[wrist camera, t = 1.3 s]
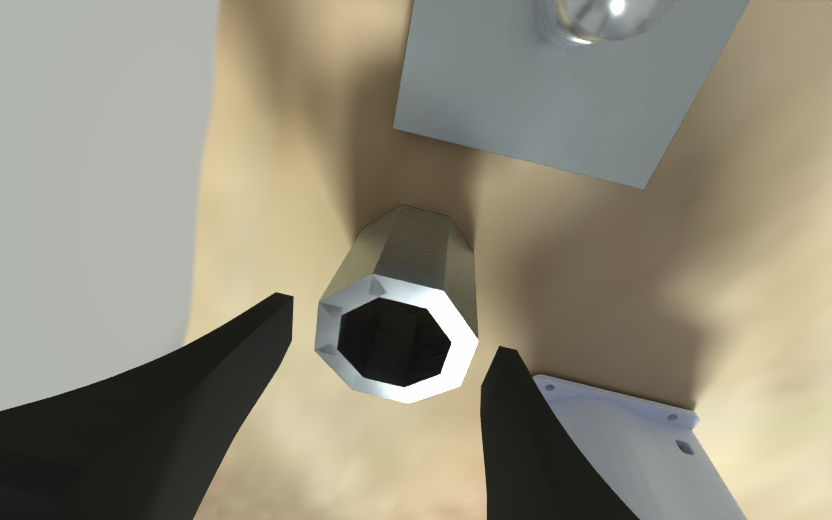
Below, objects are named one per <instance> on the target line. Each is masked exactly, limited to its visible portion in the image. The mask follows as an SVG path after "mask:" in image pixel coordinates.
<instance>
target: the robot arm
mask: <svg viewBox="0 0 832 520" xmlns="http://www.w3.org/2000/svg"><path fill="white" fill-rule="evenodd" d="M293 297H294V296H290V295H285V294H281V293H277V292H276V293H274V294H272V295H271V296H269V297H267V298H266V299H264V300H263V301H261V302H260V303H258V304H256V305H255V306H253V307H252V308H250V309H248V310H247V311H245V312H244V313H242V314H241V315H239V316H237V317H236V318H234V319H232V320H231V321H229V322H227V323H226V324H224V325H222V326H221V327H219V328H217V329H215V330H214V331H212V332H210V333H208V334H206V335H204V336H203V337H201V338H199V339H197V340H195V341H193V342H191V343H190V344H188V345H186V346H184V347H182V348H180V349H178V350H175V351H173V352H171V353H169V354H167V355H165V356H163V357H160V358H158V359H156V360H153V361H151V362H149V363H146V364H144V365H141V366H139V367H136V368H134V369H131V370H128V371H126V372H123V373H121V374H118V375H116V376H114V377H110V378H108V379H105V380H102V381H99V382H96V383H93V384H90V385H88V386H85V387H82V388H78V389H75V390H72V391H69V392H66V393H63V394H60V395H57V396H53V397H50V398H46V399H43V400H39V401H36V402H32V403H28V404H25V405H21V406H18V407H14V408H10V409H7V410H3V411H0V520H193V518H194V516H195V514H196V512H197V510H198V508H199V506H200V504H201V501H202V499H203V497H204V495H205V493H206V491H207V489H208V487H209V485H210V483H211V481H212V479H213V477H214V475H215V473H216V471H217V469H218V468H219V466H220V464H221V462H222V460H223V458H224V456H225V454H226V452H227V450H228V448H229V446H230V445H231V443H232V441H233V439H234V437H235V435H236V434H237V432H238V430H239V429H240V427H241V425H242V424H243V422H244V421H245V419H246V417H247V416H248V414H249V413H250V411H251V410H252V408H253V407H254V405H255V404H256V402H257V400H258V399H259V397H260V396H261V394H262V393H263V391H264V390H265V388H266V387H267V385H268V383H269V382H270V380H271V379H272V377H273V376H274V374H275V372H276V371H277V369H278V368H279V366H280V364H281V362H282V360H283V358H284V356H285V354H286V352H287V349H288V347H289V345H290V343H291V341H292V322H293ZM549 384H551V385H549ZM480 417H481V430H482V441H483V453H484V464H485V475H486V488H487V520H747V519H746V517H745V515H744V514H743V512H742V510H741V509H740V507H739V506H738V504H737V502H736V501H735V499H734V498H733V496H732V494H731V493H730V491H729V490H728V488H727V486H726V485H725V483H724V481H723V480H722V478H721V477H720V475H719V473H718V472H717V470H716V469H715V467H714V465H713V464H712V462H711V461H710V459H709V457H708V456H707V454H706V452H705V451H704V449H703V448H702V446H701V444H700V443H699V441H698V440H697V438H696V436H695V435H694V433H693V431H692V429H693V428H694V427H695V426H696V425H697V424H698V423H699V417H698V416H697V414H696V413H695V412H693V411H691V410H686V409H682V408H678V407H674V406H670V405H666V404H662V403H658V402H654V401H649V400H645V399H641V398H637V397H633V396H629V395H625V394H621V393H617V392H612V391H608V390H604V389H600V388H596V387H592V386H588V385H584V384H580V383H576V382H571V381H567V380H563V379H559V378H555V377H551V376H547V375H542V374H539V375H535V376H533V378H532V376H531V374H530V372H529V371H528V369H527V367H526V365H525V364H524V362H523V360H522V358H521V357H520V355H519V353H518V351H517V350H514V349H510V348H506V347H502V346H499V348H498V350H497V352H496V354H495V357H494V359H493V361H492V363H491V366H490V368H489V370H488V372H487V374H486V377H485V379H484V381H483V383H482V385H481V407H480Z"/></svg>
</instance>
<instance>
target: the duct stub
mask: <svg viewBox="0 0 832 520" xmlns="http://www.w3.org/2000/svg"><path fill="white" fill-rule="evenodd" d="M749 1H750V0H414V5H413V11H412V17H411V23H410V29H409V35H408V41H407V47H406V53H405V59H404V65H403V71H402V76H401V82H400V88H399V94H398V100H397V106H396V112H395V118H394V124H393V128H394V129H398V130H402V131H406V132H410V133H414V134H418V135H422V136H426V137H430V138H435V139H439V140H443V141H447V142H451V143H455V144H459V145H463V146H467V147H471V148H475V149H479V150H484V151H488V152H492V153H496V154H500V155H504V156H508V157H512V158H516V159H520V160H524V161H529V162H533V163H537V164H541V165H545V166H549V167H553V168H557V169H561V170H565V171H569V172H574V173H578V174H582V175H586V176H590V177H594V178H598V179H602V180H606V181H610V182H614V183H618V184H623V185H627V186H631V187H635V188H639V189H643V190H644V188H645V186H646V185H647V183H648V181H649V179H650V178H651V176H652V174H653V172H654V170H655V169H656V167H657V165H658V163H659V162H660V160H661V158H662V156H663V154H664V153H665V151H666V149H667V147H668V145H669V144H670V142H671V140H672V138H673V137H674V135H675V133H676V131H677V129H678V128H679V126H680V124H681V122H682V121H683V119H684V117H685V115H686V113H687V112H688V110H689V108H690V106H691V105H692V103H693V101H694V99H695V97H696V96H697V94H698V92H699V90H700V89H701V87H702V85H703V83H704V81H705V80H706V78H707V76H708V74H709V72H710V71H711V69H712V67H713V65H714V64H715V62H716V60H717V58H718V56H719V55H720V53H721V51H722V49H723V48H724V46H725V44H726V42H727V40H728V39H729V37H730V35H731V33H732V32H733V30H734V28H735V26H736V24H737V23H738V21H739V19H740V17H741V16H742V14H743V12H744V10H745V8H746V7H747V5H748V3H749Z"/></svg>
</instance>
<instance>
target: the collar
mask: <svg viewBox="0 0 832 520" xmlns="http://www.w3.org/2000/svg"><path fill="white" fill-rule="evenodd" d="M478 341H479V339H478V321H477V302H476V284H475V265H474V254H473V252H472V251H471V249H470V248H469V246H468V244H467V243H466V241H465V240H464V238H463V236H462V235H461V233H460V232H459V230H458V228H457V227H456V225H455V224H454V222H453V221H452V219H451V217H450V216H446V215H441V214H437V213H433V212H429V211H425V210H421V209H417V208H413V207H409V206H405V205H401V206H399V207H398V208H396V209H394V210H393V211H391V212H389V213H388V214H386V215H384V216H382V217H381V218H379V219H377V220H376V221H374V222H372V223H371V224H369V225H367V226H365V227H364V228H363V229H362V231H361V233H360V234H359V236H358V238H357V239H356V241H355V243H354V244H353V246H352V248H351V249H350V251H349V253H348V254H347V256H346V257H345V259H344V261H343V262H342V264H341V266H340V267H339V269H338V271H337V272H336V274H335V276H334V277H333V279H332V281H331V282H330V284H329V286H328V287H327V289H326V291H325V292H324V294H323V296H322V297H321V299H320V300H319V304H318V316H317V327H316V338H315V350H314V351H315V352H316V353H317V354H318V355H319V356H320V357H321V358H322V359H323V360H324V361H325V362H326V363H327V364H328V365H329V366H330V367H331V368H332V369H333V370H334V371H335V372H336V373H337V375H338V376H339V377H340V378H341V379H342V380H343V381H344V382H345V383H346V384H347V385H348V386H349V387H350V388H351V389H352V390H355V391H359V392H363V393H367V394H372V395H376V396H380V397H384V398H388V399H392V400H396V401H400V402H404V403H412V402H415V401H418V400H421V399H424V398H427V397H430V396H432V395H435V394H438V393H441V392H444V391H447V390H450V389H453V388H456V387H459V386H460V385H461V383H462V380H463V378H464V375H465V373H466V371H467V368H468V366H469V363H470V361H471V358H472V356H473V353H474V351H475V348H476V346H477V343H478Z"/></svg>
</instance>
